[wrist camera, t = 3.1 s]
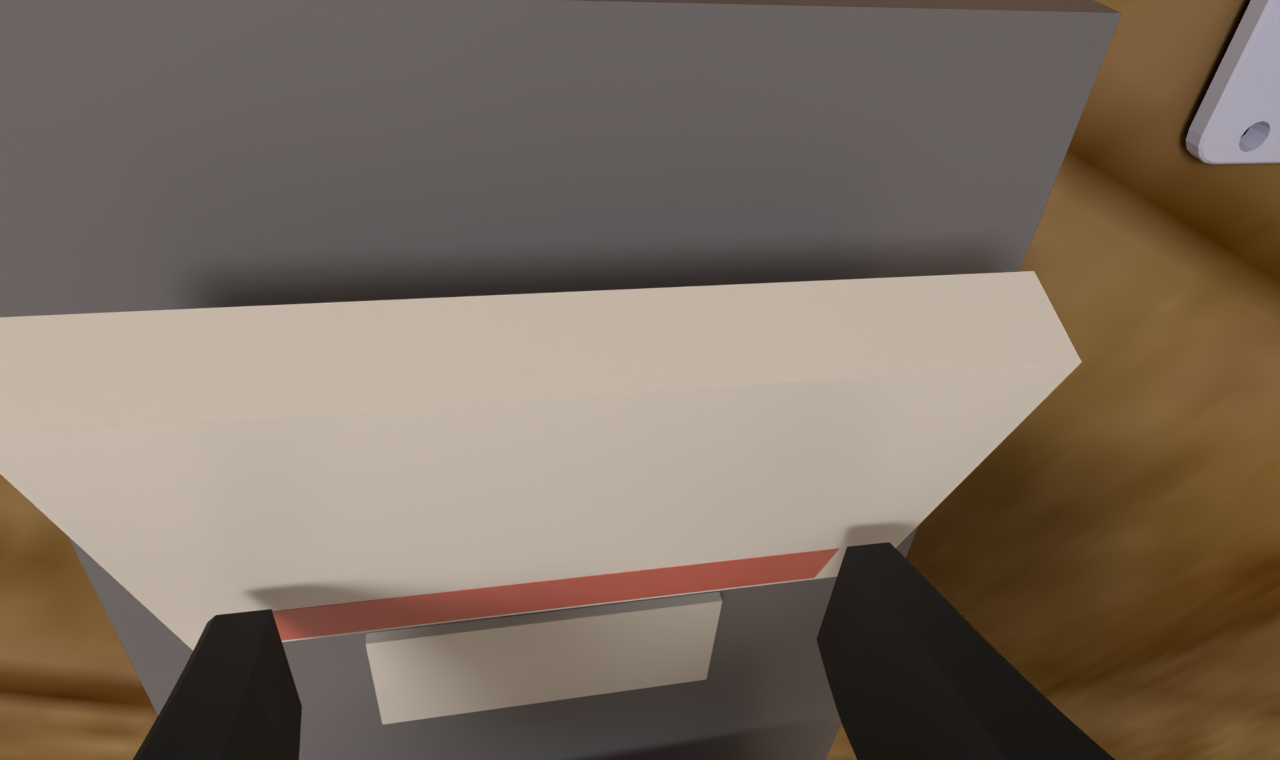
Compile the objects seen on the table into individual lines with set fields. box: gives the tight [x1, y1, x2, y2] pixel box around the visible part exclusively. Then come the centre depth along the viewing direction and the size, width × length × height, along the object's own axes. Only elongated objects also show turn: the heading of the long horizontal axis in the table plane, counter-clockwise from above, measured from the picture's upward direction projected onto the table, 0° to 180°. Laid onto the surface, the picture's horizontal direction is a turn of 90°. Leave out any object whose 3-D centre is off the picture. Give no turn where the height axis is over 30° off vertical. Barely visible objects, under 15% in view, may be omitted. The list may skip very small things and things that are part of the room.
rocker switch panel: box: [0, 0, 1122, 760], centre depth 16 cm, size 13×22×3 cm, turn 176°
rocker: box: [0, 271, 1081, 650], centre depth 10 cm, size 10×6×1 cm, turn 86°
